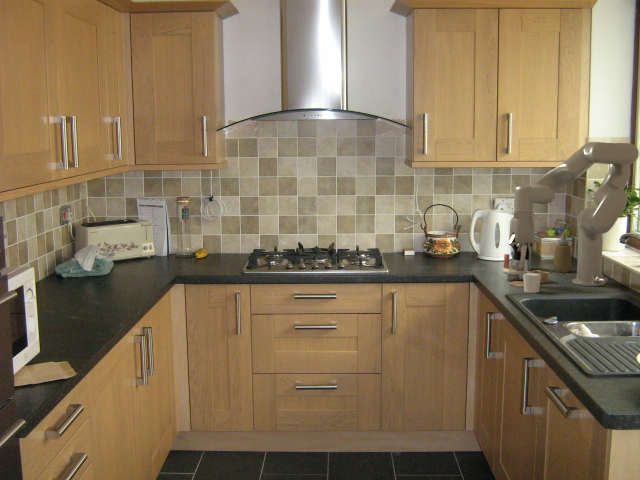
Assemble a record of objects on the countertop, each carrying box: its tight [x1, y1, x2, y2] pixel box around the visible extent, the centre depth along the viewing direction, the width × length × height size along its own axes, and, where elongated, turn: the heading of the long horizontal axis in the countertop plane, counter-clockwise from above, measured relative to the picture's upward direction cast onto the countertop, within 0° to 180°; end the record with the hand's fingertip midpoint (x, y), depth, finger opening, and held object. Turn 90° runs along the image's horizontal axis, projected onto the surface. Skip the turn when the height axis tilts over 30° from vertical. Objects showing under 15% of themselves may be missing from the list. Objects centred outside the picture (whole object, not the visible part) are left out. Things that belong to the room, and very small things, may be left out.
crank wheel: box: [502, 253, 525, 275], centre depth 308 cm, size 9×9×8 cm
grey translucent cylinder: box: [515, 244, 527, 271], centre depth 298 cm, size 4×4×11 cm
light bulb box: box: [512, 248, 532, 273], centre depth 330 cm, size 11×7×11 cm, turn 155°
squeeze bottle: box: [553, 231, 573, 274], centre depth 325 cm, size 8×8×18 cm
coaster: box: [509, 280, 524, 288], centre depth 299 cm, size 9×9×1 cm
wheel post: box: [506, 274, 521, 282], centre depth 309 cm, size 5×5×3 cm
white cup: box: [522, 273, 541, 294], centre depth 287 cm, size 7×7×7 cm
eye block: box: [526, 269, 551, 284], centre depth 306 cm, size 7×7×4 cm
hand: (521, 259), depth 298 cm, fingers closed on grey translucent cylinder, 3 cm apart
